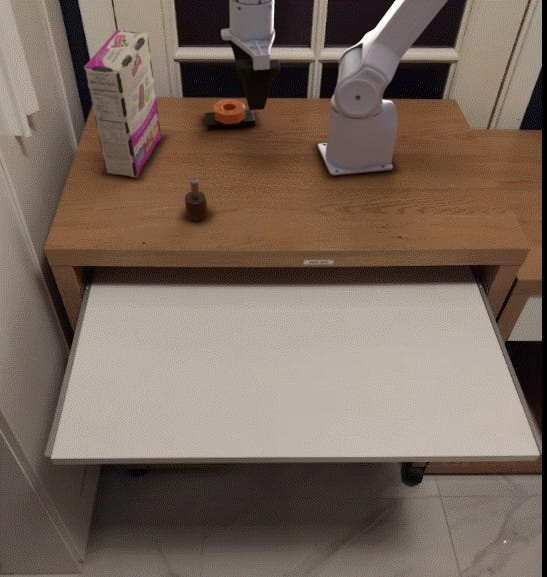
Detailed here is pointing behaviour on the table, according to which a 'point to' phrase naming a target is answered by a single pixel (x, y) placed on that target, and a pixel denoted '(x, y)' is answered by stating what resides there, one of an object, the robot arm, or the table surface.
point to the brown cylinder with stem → (195, 203)
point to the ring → (229, 111)
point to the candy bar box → (124, 102)
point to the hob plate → (214, 124)
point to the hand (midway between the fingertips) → (251, 95)
